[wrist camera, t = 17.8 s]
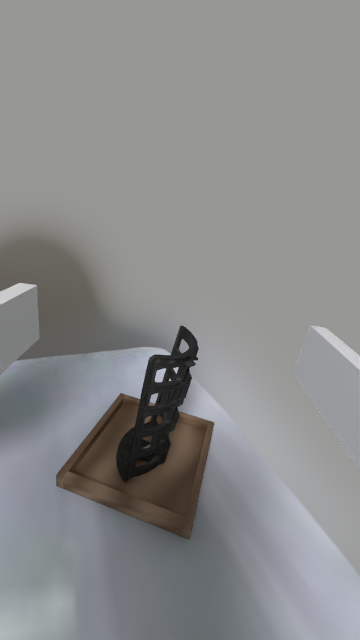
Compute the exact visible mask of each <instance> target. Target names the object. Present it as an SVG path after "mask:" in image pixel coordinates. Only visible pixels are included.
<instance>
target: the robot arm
mask: <svg viewBox="0 0 360 640" xmlns="http://www.w3.org/2000/svg"><path fill="white" fill-rule="evenodd" d="M38 339H39V320H38V302H37V285H31V284H23V283H18V284H16V285H14V286H12V287H10V288H8V289H6V290H4V291H1V292H0V374H1V373H2V372H3V371H5V370H6V369H7V368H8V367H9V366H10V365H11V364H12V363H13V362H14V361H15V360H17V359H18V357H20V356H21V355H22V354H23V353H24V352H25V351H26V350H27V349H28V348H30V346H32V345H33V344H34V343H35V342H36V341H37V340H38ZM293 374H294V375H295V377H296V378H297V380H298V381H299V383H300V384H301V386H302V387H303V389H304V390H305V391H306V393H307V394H308V396H309V397H310V399H311V400H312V402H313V403H314V405H315V406H316V407H317V409H318V411H319V412H320V414H321V415H322V417H323V418H324V419H325V421H326V422H327V424H328V425H329V427H330V428H331V430H332V431H333V433H334V434H335V436H336V437H337V439H338V440H339V442H340V443H341V444H342V446H343V447H344V449H345V450H346V452H347V453H348V455H349V456H350V458H351V459H352V460H353V462H354V463H355V465H356V466H357V468H358V469H359V471H360V356H359V355H358V354H357V353H355V352H354V351H353V350H352V349H351V348H349V347H348V346H347V345H346V344H344V343H343V342H342V341H341V340H340V339H338V338H337V337H336V336H335V335H334V334H332V333H331V332H330V331H329V330H327V329H326V328H323V327H316V326H310V329H309V331H308V334H307V336H306V339H305V342H304V344H303V347H302V350H301V352H300V355H299V358H298V360H297V363H296V366H295V369H294V371H293Z"/></svg>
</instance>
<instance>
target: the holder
mask: <svg viewBox="0 0 360 640" xmlns="http://www.w3.org/2000/svg"><path fill="white" fill-rule="evenodd" d="M182 339H184V340H185V341H186V342H187V344H188V345H189V349H188V350H187V351H186V352H184V353H181V352H180V351H179V346H180V342H181V340H182ZM198 349H199V348H198V345H197V340H196V339H195V337H194V336H193V334H192V333H191V332H190V331H189V330H188V329H187V328H185V327H184V326H180V329H179V332H178V335H177V338H176V341H175V344H174V347H173V350H172V353H171V355H153V356H152V357H150V358H149V361H148V365H147V369H146V374H145V379H144V383H143V388H142V393H141V398H140V403H139V408H138V413H137V418H136V422H135V427H133V428H131V429H130V430H129V431H128V432H127V433H126V434H125V435H124V436H123V437H122V439H121V441H120V443H119V446H118V449H117V455H116V461H117V468H118V471H119V474H120V476H121V477H122V479H123V480H124V481H125V482H126V481H128V480H129V479H131V478H132V477H137V476H140V475H143V474H146V473H148V472H150V471H151V470H153V469H154V468H156V467H157V466H158V465H160V464H163V463H165V460H166V457H167V454H168V451H169V448H170V445H171V442H170V440H169V436H168V435H169V432H171V431H174V430H175V427H176V424H177V422H178V420H179V417H180V414H179V411H178V409H177V407H178V406H180V405H182V404H183V401H184V398H185V397H186V394H187V391H188V388H189V385H190V382H191V379H192V377H191V375H190V373H189V368H190V367H191V366H194V365H195V363H194V362H193V361H194V360H198V358H197V357H196V355H197V352H198ZM176 367H179V369H178V372H177V374H176V373H175V371H174V370H173V368H176ZM163 368H166V372H165V375H164V378H163V381H162V382H160V383H157V382H155V381H154V380H155V376H156V372H157V370H160V369H163ZM169 378H170V379H171V380H172V381H169ZM155 393H159V394H158V397H157V400H156V403H155V406H149V402H150V398H151V395H153V394H155ZM159 414H160V415H161V417H162V418H163V422H162V423H160V424H158V422H157V416H158V415H159ZM149 416H152V417H151V420H150V421H149V422H147V423H145V419H146V417H149ZM148 436H152V438H151V442H148V441H146V440H144V439H142V438H144V437H148ZM137 459H141V460H144V461H147V462H148V463H146V464H144V465H141V466H138V467H136V462H137Z"/></svg>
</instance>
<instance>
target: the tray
mask: <svg viewBox="0 0 360 640" xmlns="http://www.w3.org/2000/svg"><path fill="white" fill-rule="evenodd" d="M139 403H140V399H138V398H134V397H131V396H128V395H125V394H122V393H121V394H120V395H119V396H118V398H117V399H116V400H115V401H114V403H113V404H112V405H111V406H110V408H109V409H108V410H107V411H106V413H105V414H104V415H103V417H102V418H101V419H100V420H99V422H98V423H97V424H96V425H95V427H94V428H93V429H92V430H91V432H90V433H89V434H88V436H87V437H86V438H85V439H84V441H83V442H82V443H81V444H80V446H79V447H78V448H77V450H76V451H75V452H74V453H73V455H72V456H71V457H70V458H69V460H68V461H67V462H66V463H65V465H64V466H63V467H62V469H61V470H60V471H59V472H58V474H57V475H56V483H57V486H58V487H61V488H63V489H66V490H68V491H71V492H73V493H76V494H78V495H81V496H83V497H86V498H88V499H90V500H93V501H95V502H98V503H100V504H103V505H105V506H108V507H110V508H113V509H115V510H118V511H120V512H123V513H125V514H128V515H130V516H133V517H135V518H137V519H140V520H142V521H145V522H147V523H150V524H152V525H155V526H157V527H160V528H162V529H165V530H167V531H170V532H172V533H175V534H177V535H180V536H182V537H184V538H187V539H189V537H190V534H191V530H192V526H193V521H194V516H195V511H196V507H197V502H198V497H199V492H200V488H201V483H202V478H203V473H204V469H205V464H206V459H207V454H208V450H209V445H210V440H211V435H212V431H213V426H214V422H211V421H208V420H204V419H201V418H198V417H195V416H192V415H188V414H185V413H182V412H179V414H180V417H179V420H178V422H177V424H176V427H175V430H174V431H171V432H169V435H168V436H169V440H170V442H171V445H170V448H169V451H168V454H167V457H166V460H165V463H163V464H160V465H158V466H157V467H156V468H154V469H153V470H151V471H150V472H148V473H146V474H143V475H140V476H137V477H132V478H131V479H129V480H128V481H126V482H125V481H124V480H123V479H122V477H121V476H120V474H119V471H118V468H117V461H116V455H117V449H118V446H119V443H120V441H121V439H122V437H123V436H124V435H125V434H126V433H127V432H128V431H129V430H130V429H131V428H133V427H135V422H136V418H137V413H138V408H139ZM149 406H155V404H153V403H150V402H149ZM151 417H152V416H149V417H146V419H145V423H147V422H149V421H150V420H151ZM157 422H158V424H160V423H162V422H163V418H162V417H161V415H160V414H159V415H158V416H157ZM151 438H152V436H148V437H144V438H142V439H144V440H146V441H148V442H151ZM146 463H148V462H147V461H144V460H141V459H137V462H136V467H138V466H141V465H144V464H146Z"/></svg>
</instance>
